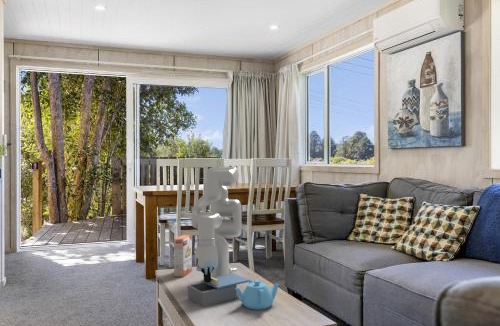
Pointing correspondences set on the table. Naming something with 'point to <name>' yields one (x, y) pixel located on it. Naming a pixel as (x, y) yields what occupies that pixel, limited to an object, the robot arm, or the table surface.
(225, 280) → the lid
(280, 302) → the table surface
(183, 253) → the cracker box
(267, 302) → the teapot
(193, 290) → the base
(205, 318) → the table surface
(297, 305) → the table surface
